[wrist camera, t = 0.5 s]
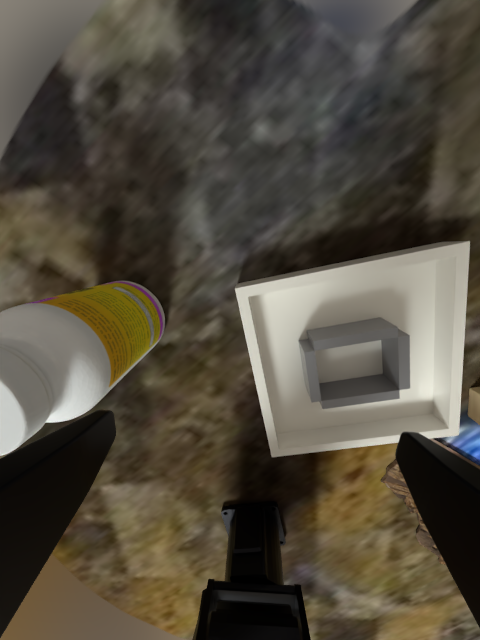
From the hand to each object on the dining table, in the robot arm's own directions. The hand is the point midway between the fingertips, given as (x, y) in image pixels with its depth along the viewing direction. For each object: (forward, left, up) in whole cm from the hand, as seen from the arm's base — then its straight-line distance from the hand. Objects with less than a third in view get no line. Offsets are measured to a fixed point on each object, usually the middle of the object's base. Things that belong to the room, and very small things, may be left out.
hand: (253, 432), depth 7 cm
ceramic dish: (-5, -7, -14) cm, 16 cm away
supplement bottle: (+2, +11, -14) cm, 18 cm away
